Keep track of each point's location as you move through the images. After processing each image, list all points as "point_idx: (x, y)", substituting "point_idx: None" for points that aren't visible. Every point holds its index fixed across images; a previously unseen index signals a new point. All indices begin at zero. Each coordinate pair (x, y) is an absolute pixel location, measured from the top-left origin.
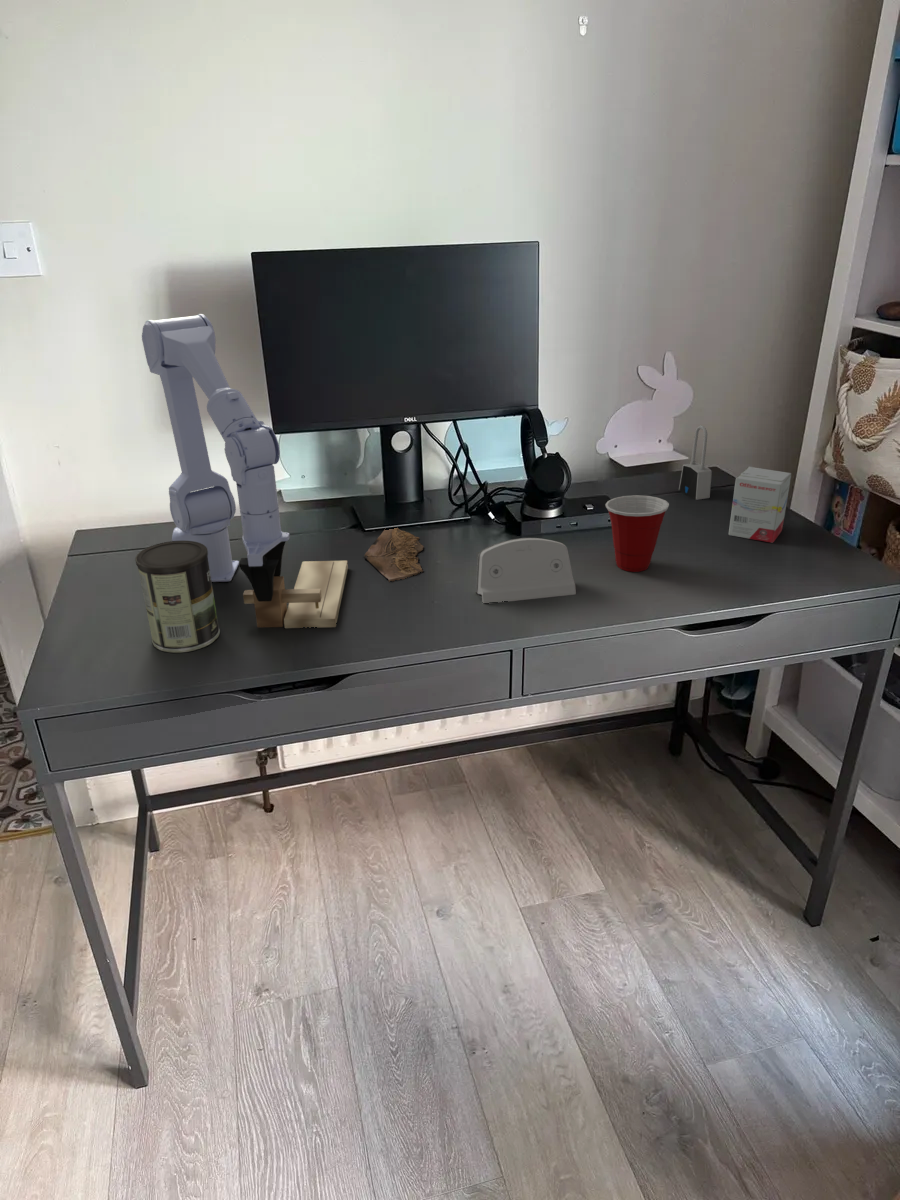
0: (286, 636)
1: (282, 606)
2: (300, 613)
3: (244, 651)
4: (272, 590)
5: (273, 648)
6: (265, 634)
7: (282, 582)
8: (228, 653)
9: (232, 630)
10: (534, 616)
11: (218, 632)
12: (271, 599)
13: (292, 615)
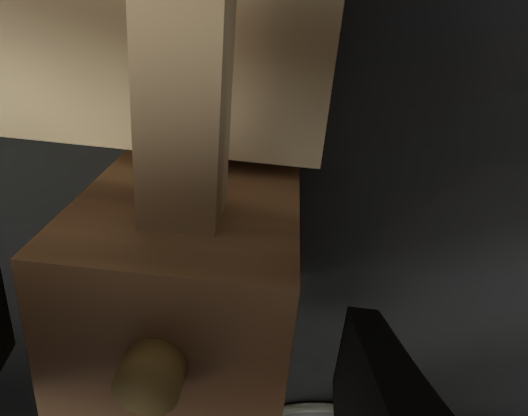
0: (412, 138)
1: (237, 195)
2: (251, 70)
3: (504, 313)
4: (412, 365)
5: (524, 196)
6: (364, 238)
7: (100, 255)
8: (499, 366)
9: (297, 362)
10: None
11: (331, 412)
12: (380, 315)
13: (270, 120)
